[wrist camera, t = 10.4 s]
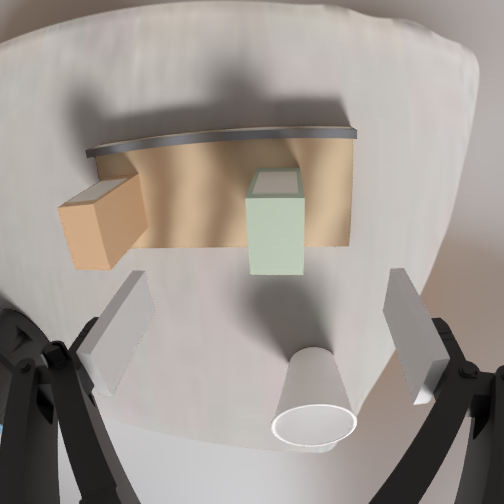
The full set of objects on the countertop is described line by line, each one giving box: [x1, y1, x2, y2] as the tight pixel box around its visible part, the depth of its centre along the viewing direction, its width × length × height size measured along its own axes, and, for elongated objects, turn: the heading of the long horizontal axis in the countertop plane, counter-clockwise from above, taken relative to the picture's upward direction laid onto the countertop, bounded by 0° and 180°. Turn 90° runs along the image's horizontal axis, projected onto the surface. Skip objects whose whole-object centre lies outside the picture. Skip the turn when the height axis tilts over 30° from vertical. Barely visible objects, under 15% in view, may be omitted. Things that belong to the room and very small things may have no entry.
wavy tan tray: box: [86, 126, 357, 248], centre depth 31 cm, size 26×12×3 cm, turn 94°
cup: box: [271, 347, 357, 446], centre depth 37 cm, size 10×10×11 cm
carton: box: [245, 167, 305, 275], centre depth 27 cm, size 4×6×9 cm, turn 3°
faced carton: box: [58, 174, 148, 270], centre depth 29 cm, size 4×6×9 cm, turn 4°
